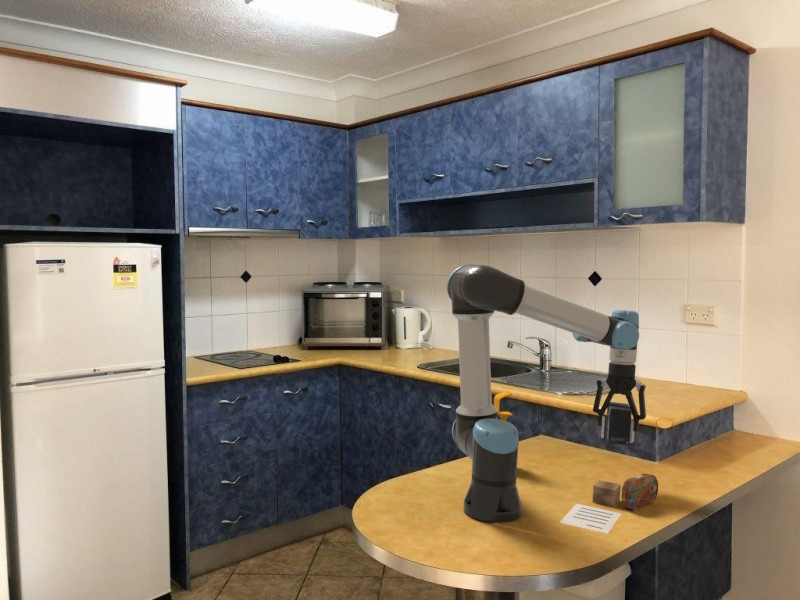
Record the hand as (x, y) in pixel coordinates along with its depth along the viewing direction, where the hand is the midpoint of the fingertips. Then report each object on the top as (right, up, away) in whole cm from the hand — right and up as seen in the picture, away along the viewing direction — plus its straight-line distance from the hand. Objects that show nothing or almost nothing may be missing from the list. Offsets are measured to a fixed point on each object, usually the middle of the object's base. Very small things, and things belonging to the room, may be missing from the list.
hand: (617, 439), depth 196 cm
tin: (+2, -16, -13) cm, 21 cm away
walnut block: (-7, -15, -11) cm, 20 cm away
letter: (-15, -16, -24) cm, 32 cm away
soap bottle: (-32, -13, +16) cm, 38 cm away
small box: (0, -1, 0) cm, 1 cm away
